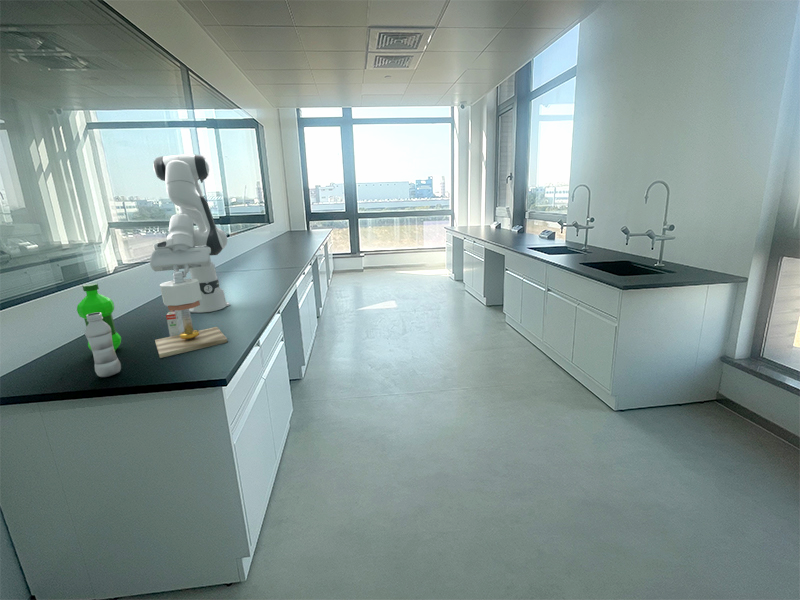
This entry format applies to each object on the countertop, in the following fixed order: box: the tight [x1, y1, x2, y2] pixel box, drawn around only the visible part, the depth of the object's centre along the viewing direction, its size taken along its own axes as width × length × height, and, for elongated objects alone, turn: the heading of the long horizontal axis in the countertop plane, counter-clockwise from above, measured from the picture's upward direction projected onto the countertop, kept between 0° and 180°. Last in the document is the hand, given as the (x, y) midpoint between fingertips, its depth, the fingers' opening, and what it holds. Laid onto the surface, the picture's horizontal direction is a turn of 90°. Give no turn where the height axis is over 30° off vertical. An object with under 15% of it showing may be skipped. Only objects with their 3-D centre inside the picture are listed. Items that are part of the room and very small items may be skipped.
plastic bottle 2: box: [84, 312, 122, 378], centre depth 120 cm, size 6×7×20 cm
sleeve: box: [159, 278, 202, 307], centre depth 142 cm, size 12×12×7 cm
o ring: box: [167, 301, 200, 311], centre depth 144 cm, size 10×10×2 cm
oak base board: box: [154, 326, 228, 359], centre depth 147 cm, size 18×22×2 cm
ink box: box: [165, 310, 184, 337], centre depth 155 cm, size 4×8×15 cm, turn 17°
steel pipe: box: [172, 271, 199, 341], centre depth 144 cm, size 6×6×26 cm
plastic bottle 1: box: [76, 283, 122, 352], centre depth 140 cm, size 10×10×25 cm
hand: (181, 276), depth 145 cm, fingers closed
